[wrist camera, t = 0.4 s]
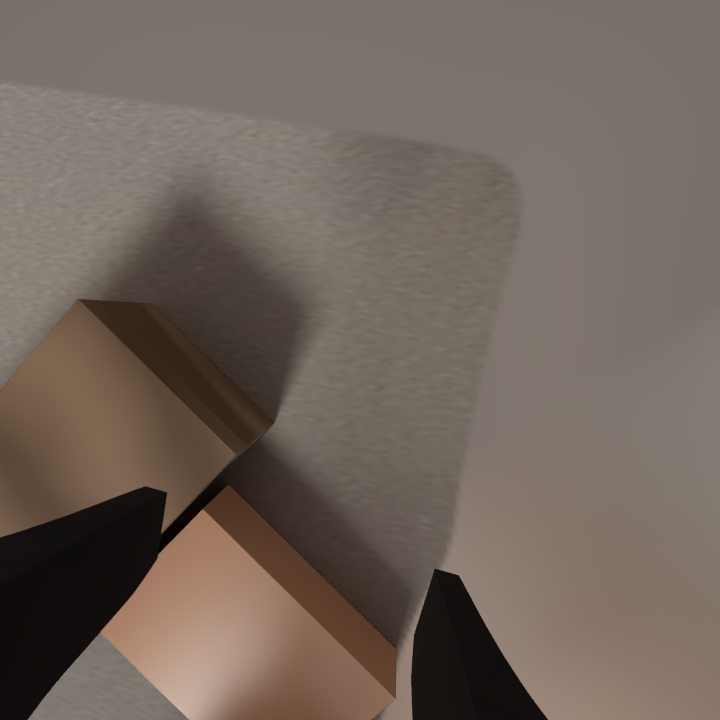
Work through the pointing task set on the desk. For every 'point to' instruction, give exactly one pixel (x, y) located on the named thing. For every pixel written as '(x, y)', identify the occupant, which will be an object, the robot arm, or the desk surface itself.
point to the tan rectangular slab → (250, 628)
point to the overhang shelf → (116, 417)
